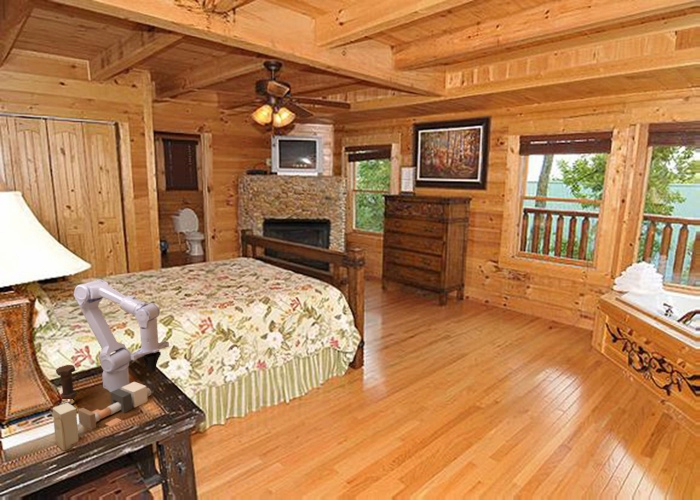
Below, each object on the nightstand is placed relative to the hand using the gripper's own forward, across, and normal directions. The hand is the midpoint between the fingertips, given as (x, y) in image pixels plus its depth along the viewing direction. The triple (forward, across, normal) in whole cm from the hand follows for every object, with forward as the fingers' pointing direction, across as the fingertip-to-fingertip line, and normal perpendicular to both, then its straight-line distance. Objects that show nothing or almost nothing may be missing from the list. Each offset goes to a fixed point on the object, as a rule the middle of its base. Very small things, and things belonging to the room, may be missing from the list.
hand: (151, 371), depth 155 cm
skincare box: (+10, -32, -3) cm, 34 cm away
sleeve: (+9, -8, 0) cm, 12 cm away
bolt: (+10, -20, +19) cm, 29 cm away
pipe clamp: (+10, -14, 0) cm, 17 cm away
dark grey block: (+9, -12, 0) cm, 15 cm away
